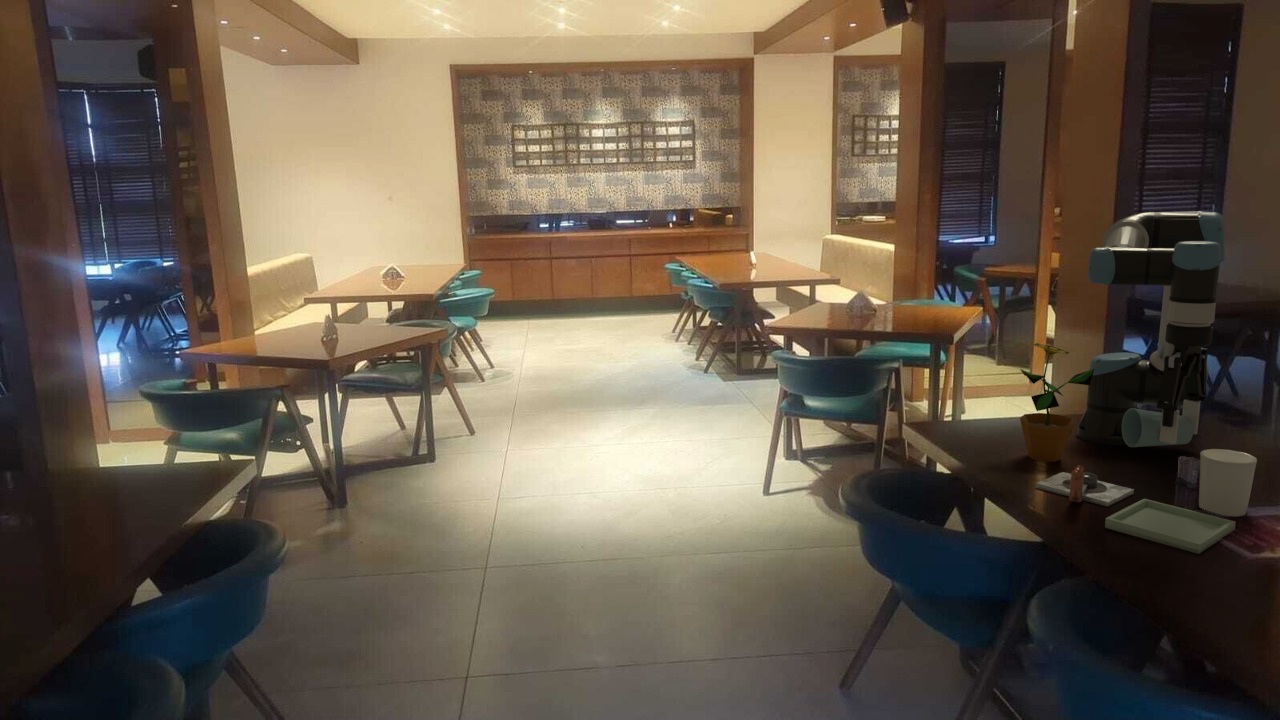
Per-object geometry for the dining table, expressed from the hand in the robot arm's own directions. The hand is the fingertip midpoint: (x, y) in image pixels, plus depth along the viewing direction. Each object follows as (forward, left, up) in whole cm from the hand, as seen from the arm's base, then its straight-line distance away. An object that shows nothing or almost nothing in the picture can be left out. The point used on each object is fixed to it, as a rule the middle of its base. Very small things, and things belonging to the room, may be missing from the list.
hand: (1178, 437), depth 167 cm
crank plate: (-9, -21, -19) cm, 30 cm away
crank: (-9, -21, -18) cm, 30 cm away
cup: (-1, 0, -3) cm, 3 cm away
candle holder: (-19, +3, -20) cm, 28 cm away
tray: (0, 0, -19) cm, 19 cm away
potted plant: (-26, -39, -20) cm, 51 cm away
